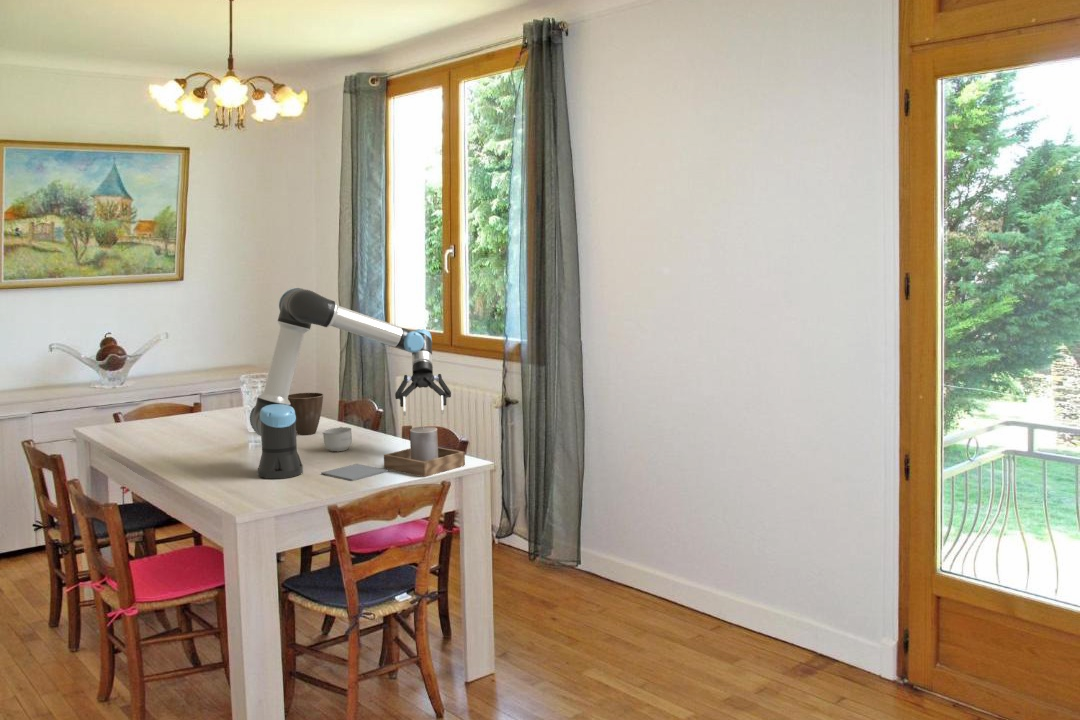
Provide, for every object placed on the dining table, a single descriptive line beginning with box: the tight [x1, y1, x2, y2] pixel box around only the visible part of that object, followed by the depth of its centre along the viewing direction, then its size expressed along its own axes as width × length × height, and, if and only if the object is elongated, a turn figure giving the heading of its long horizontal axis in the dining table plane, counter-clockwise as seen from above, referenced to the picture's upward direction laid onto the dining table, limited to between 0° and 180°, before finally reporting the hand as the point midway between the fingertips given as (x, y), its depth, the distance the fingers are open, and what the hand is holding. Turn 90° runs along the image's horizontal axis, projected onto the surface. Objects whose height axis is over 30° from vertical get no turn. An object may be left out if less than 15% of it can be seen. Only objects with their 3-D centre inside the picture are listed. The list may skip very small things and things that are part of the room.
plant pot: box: [288, 392, 324, 436], centre depth 412 cm, size 15×15×16 cm
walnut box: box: [383, 446, 466, 478], centre depth 350 cm, size 20×20×5 cm
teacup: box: [322, 426, 353, 452], centre depth 381 cm, size 14×11×8 cm
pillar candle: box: [409, 425, 439, 462], centre depth 349 cm, size 10×10×15 cm
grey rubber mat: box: [321, 463, 389, 482], centre depth 344 cm, size 16×16×1 cm
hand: (423, 412), depth 359 cm, fingers open, 13 cm apart
